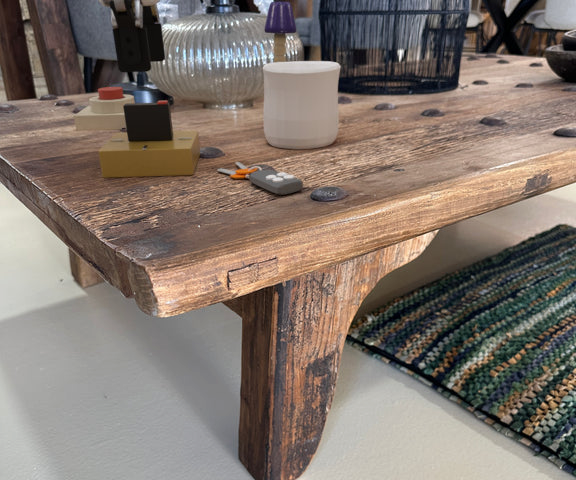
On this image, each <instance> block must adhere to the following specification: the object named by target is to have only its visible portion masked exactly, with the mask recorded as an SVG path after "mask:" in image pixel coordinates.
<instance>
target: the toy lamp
mask: <svg viewBox="0 0 576 480" xmlns="http://www.w3.org/2000/svg"><path fill="white" fill-rule="evenodd" d="M296 32H297V27H296V20H295V16H294V11H293V6H292V3H291V2H289V1H270V3H269V6H268V11H267V15H266V20H265V24H264V33H266V34H274V35H273V42H274V46H273V53H274V58H273V63H275V62H287V58H286V53H287V47H286V42H287V36H286V34H296Z"/></svg>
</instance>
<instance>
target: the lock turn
mask: <svg viewBox="0 0 576 480" xmlns="http://www.w3.org/2000/svg"><path fill="white" fill-rule="evenodd" d="M123 108H124V115H125V122H126V129H125V130H126V133H127V136H128V141H164V140H172V139H173V131H174V129H173V121H172V120H173V119H172V111H171V102H170V101H168V100H167V99H165V100H158V101H157V102H135V103H127V104H125V105H124V106H123Z"/></svg>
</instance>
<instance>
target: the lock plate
mask: <svg viewBox="0 0 576 480" xmlns="http://www.w3.org/2000/svg"><path fill="white" fill-rule="evenodd" d="M199 135H200V134H199V130H173V139H172V140H164V141H128V136H127V132H116V133H114V135H113V136H112V137H110V139H108V141H107V142H106V143H105V144H104V145H103V146H102V147H100V149H99V150H98V153H97V154H98V157H99V165H100V169H101V175H102V178H104V179H107V178H109V179H112V178H113V179H114V178H139V177H140V178H141V177H173V176H174V177H175V176H178V177H179V176H194V174H195V171H196V169H197V168H196V167H197V166H198V165H197V164H198V162H199V159H200V157H201V147H200V137H199Z"/></svg>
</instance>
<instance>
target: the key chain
mask: <svg viewBox="0 0 576 480" xmlns="http://www.w3.org/2000/svg"><path fill="white" fill-rule="evenodd" d="M234 163H235V164H236V167H238V168H239V169H236V170H233V169H231V170H230V169H226V168H222V167H220V168H217V169H216V172H219V173H223V174H226V175H229V177H230V178H232V179H236V180H237V179H248V180H249V181H250V182H251V183H252V184H254V185H256V186H258V187H260V188H262V189H264V190H267V191H269V192H271V193H274V194H275V195H280V196H284V195H288V194H292V193H295V192H299V191H300V190H302V188H304V182H303V180H301V179H300V178H298V177H295V176H294V175H293V174H288V173H287V172H280V171H276V170H273V169H268V168H267V169H265V168H264V169H263V168H262V167H261V166H259V165H255V166H252V167H247V166H245V165H244V164H243V163H242V162H240V161H235V162H234Z"/></svg>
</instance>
